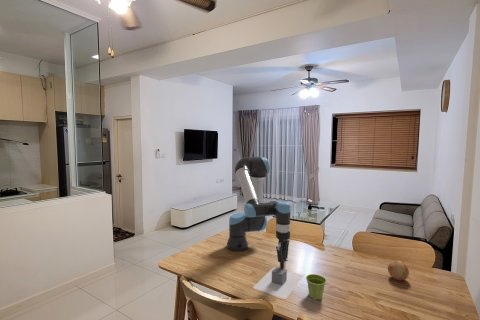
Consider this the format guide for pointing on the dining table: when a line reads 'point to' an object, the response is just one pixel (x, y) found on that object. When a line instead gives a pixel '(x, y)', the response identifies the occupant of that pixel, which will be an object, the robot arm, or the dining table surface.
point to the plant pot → (315, 285)
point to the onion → (398, 270)
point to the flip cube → (279, 276)
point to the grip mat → (277, 289)
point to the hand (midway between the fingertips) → (282, 273)
